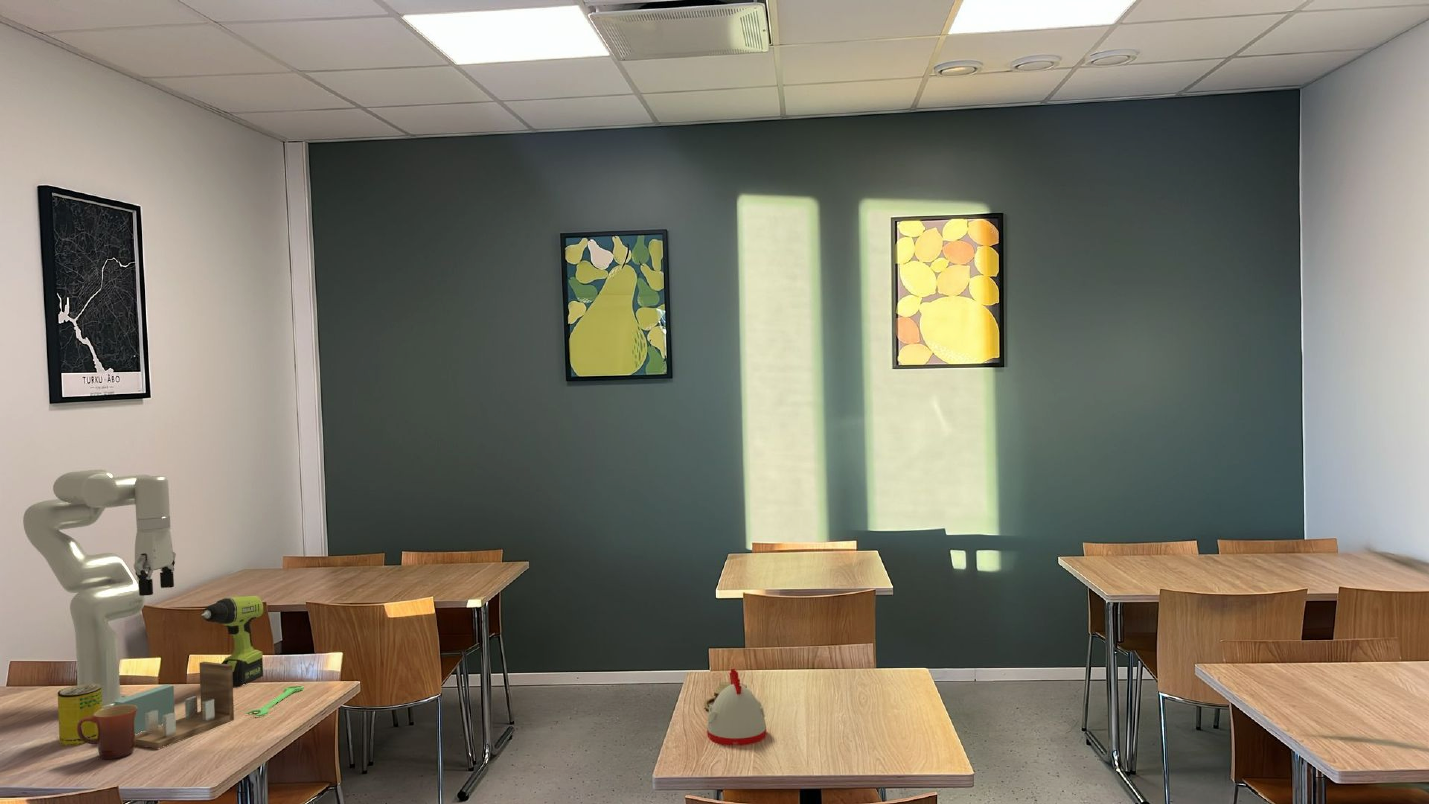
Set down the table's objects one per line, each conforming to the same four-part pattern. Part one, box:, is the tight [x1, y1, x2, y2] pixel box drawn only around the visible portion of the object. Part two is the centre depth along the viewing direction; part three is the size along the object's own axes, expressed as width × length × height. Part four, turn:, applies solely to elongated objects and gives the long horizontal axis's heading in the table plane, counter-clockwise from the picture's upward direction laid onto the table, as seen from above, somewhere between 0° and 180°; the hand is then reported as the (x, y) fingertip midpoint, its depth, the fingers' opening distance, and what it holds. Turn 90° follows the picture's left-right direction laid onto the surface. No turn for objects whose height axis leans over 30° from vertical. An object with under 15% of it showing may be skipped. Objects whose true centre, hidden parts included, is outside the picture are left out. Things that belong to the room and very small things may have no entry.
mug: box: [77, 705, 138, 760], centre depth 226 cm, size 12×9×10 cm
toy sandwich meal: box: [703, 681, 748, 712], centre depth 251 cm, size 12×14×5 cm
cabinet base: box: [135, 661, 235, 749], centre depth 241 cm, size 21×10×14 cm, turn 158°
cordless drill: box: [200, 595, 264, 687], centre depth 278 cm, size 23×7×25 cm, turn 170°
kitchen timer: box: [706, 668, 767, 746], centre depth 231 cm, size 14×14×15 cm
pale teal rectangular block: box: [114, 684, 176, 735], centre depth 244 cm, size 14×3×9 cm, turn 158°
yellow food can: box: [57, 684, 102, 747], centre depth 238 cm, size 9×9×12 cm
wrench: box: [245, 685, 305, 717], centre depth 262 cm, size 25×2×5 cm
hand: (157, 591), depth 251 cm, fingers open, 9 cm apart
